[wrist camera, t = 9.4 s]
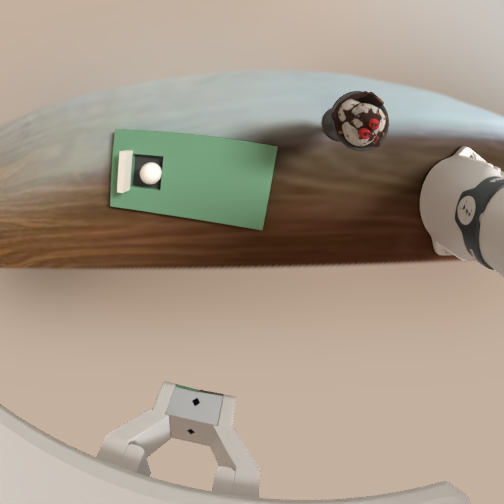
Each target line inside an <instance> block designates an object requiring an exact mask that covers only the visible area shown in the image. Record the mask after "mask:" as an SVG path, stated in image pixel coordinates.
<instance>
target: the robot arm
mask: <svg viewBox="0 0 504 504" xmlns="http://www.w3.org/2000/svg"><path fill="white" fill-rule="evenodd" d="M470 155H471V158H470ZM500 171H501V170H500V169H499V168H498V167H496V166H494V167H493V165H492V164H490V163H487V162H486V161H485V160H484V159H482V158H481V157H480V156H479V155H478V154H476V153H475V152H474V151H473V150H472V149H470V148H469V147H466V146H463V147H461V148H460V149H459V150H458V151H457V152H456V153H455V154H454V155H453V156H451V157H449V158H446V159H444V160H442V161H440V162H439V163H437V164H436V165H435V166H434V167H433V168H432V169H431V171H430V172H429V173H428V175H427V177H426V179H425V181H424V183H423V186H422V190H421V195H420V213H421V218H422V221H423V224H424V226H425V228H426V230H427V231H428V233H429V234H430V236H431V238H432V242H433V248H434V251H435V252H436V253H437V254H439V255H455V256H456V257H457V258H459V259H460V260H462V261H466V260H476V261H478V262H479V263H480V264H482V265H483V266H485V267H487V268H489V269H492V270H496V271H497V272H498V273H499V274H500V275H502V276H503V277H504V172H500ZM223 395H224V394H219V393H214V392H208V391H203V390H197V389H192V388H189V387H185V386H181V385H177V384H173V383H170V382H166V381H165V382H164V383H163V384H162V387H161V390H160V392H159V394H158V397H157V399H156V402H155V404H154V407H153V409H152V410H147V411H145V412H144V413H142V414H140V415H139V416H137V417H135V418H134V419H132V420H130V421H129V422H127V423H125V424H124V425H122V426H120V427H118V428H117V429H115V430H113V431H111V432H110V433H108V434H107V436H106V438H105V440H104V442H103V444H102V446H101V448H100V450H99V452H98V454H97V457H93V456H91V455H89V454H87V453H84V452H82V451H80V450H78V449H76V448H74V447H72V446H70V445H67V444H66V443H64V442H62V441H60V440H58V439H56V438H54V437H52V436H50V435H49V434H47V433H45V432H43V431H41V430H40V429H38V428H36V427H35V426H33V425H31V424H29V423H28V422H26V421H25V420H23V419H22V418H20V417H18V416H17V415H15V414H14V413H12V412H11V411H9V410H8V409H6V408H5V407H4V406H2V405H1V404H0V504H470V501H469V498H468V497H467V495H466V494H464V493H463V492H462V491H461V490H459V489H458V488H457V487H455V486H454V485H453V484H451V483H450V482H447V481H444V482H439V483H435V484H432V485H428V486H424V487H420V488H415V489H410V490H405V491H400V492H395V493H389V494H383V495H376V496H367V497H358V498H347V499H333V500H280V499H263V498H259V485H260V472H261V471H260V469H259V468H258V466H257V464H256V463H255V462H254V460H253V458H252V456H251V455H250V453H249V452H248V450H247V448H246V447H245V445H244V443H243V441H242V440H241V438H240V437H239V435H238V433H237V431H236V430H235V429H232V423H233V417H234V410H235V403H236V397H235V396H229V395H224V396H223ZM171 438H176V439H181V440H185V441H190V442H194V443H198V444H202V445H207V446H211V449H212V452H213V454H214V456H215V458H216V460H217V463H218V465H219V467H218V468H217V469H216V473H215V478H214V483H213V488H212V492H210V491H205V490H199V489H195V488H190V487H186V486H181V485H177V484H173V483H169V482H166V481H162V480H158V479H154V478H151V477H150V474H151V472H150V469H149V465H148V462H147V459H146V458H147V457H148V456H150V455H151V454H152V453H153V452H155V451H156V450H157V449H158V448H160V447H161V446H162V445H163V444H164V443H166V442H167V441H168V440H170V439H171Z"/></svg>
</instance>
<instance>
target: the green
mask: <svg viewBox="0 0 504 504" xmlns="http://www.w3.org/2000/svg"><path fill="white" fill-rule="evenodd" d="M277 148H278V146H272V145H266V144H260V143H254V142H248V141H241V140H234V139H227V138H219V137H211V136H203V135H193V134H183V133H171V132H158V131H141V130H115V134H114V144H113V156H112V171H111V193H110V206H112V207H119V208H126V209H132V210H139V211H146V212H152V213H159V214H165V215H172V216H178V217H185V218H191V219H197V220H203V221H209V222H215V223H221V224H227V225H233V226H239V227H245V228H251V229H257V230H262V231H263V225H264V220H265V214H266V209H267V203H268V198H269V192H270V187H271V181H272V176H273V170H274V165H275V159H276V153H277ZM149 162H154V163H156V164H158V165H159V166H160V168H161V170H162V175H161V178H160V180H159V181H158V182H157V183H155V184H146V183H144V182H143V181H142V180H141V178H140V170H141V168H142V166H143V165H145V164H146V163H149Z"/></svg>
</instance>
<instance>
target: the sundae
mask: <svg viewBox="0 0 504 504" xmlns="http://www.w3.org/2000/svg"><path fill="white" fill-rule="evenodd" d="M383 104H384V102H383V101H382V100H381V99H380V98H379V97H378V96H376V95H375V94H374V93H373V92H369V93H368V92H366V91H364V92H361V91H354V92H349V93H347V94H345V95H343V96H342V97H340V98H339V99H338V100H337V101H336V103H335V104H334V105H333V107H332V109H330V110H328V111H327V113H326V114H325V115H324V118H323V127H324V130H325V132H326V134H327V135H328V136H329V137H330V138H332V139H334V140H337V141H341V142H342V143H343V144H345V145H346V146H347V147H349V148H351V149H353V150H357V151H367V150H372V149H374V148H376V147H379V146H380V144H381V143H382V142H383V141H384V139H385V138H386V135H387V132H388V127H389V118H388V114H387V111H386V109H385V107H384V106H383Z"/></svg>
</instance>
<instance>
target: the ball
mask: <svg viewBox="0 0 504 504" xmlns="http://www.w3.org/2000/svg"><path fill="white" fill-rule="evenodd" d="M161 175H162V170H161V168H160V166H159V165H158V164H156V163H154V162H149V163H146V164H145V165H143V166H142V168H141V170H140V178H141V180H142V181H143V182H144V183H146V184H155V183H157V182H158V181H159V180H160V178H161Z"/></svg>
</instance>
